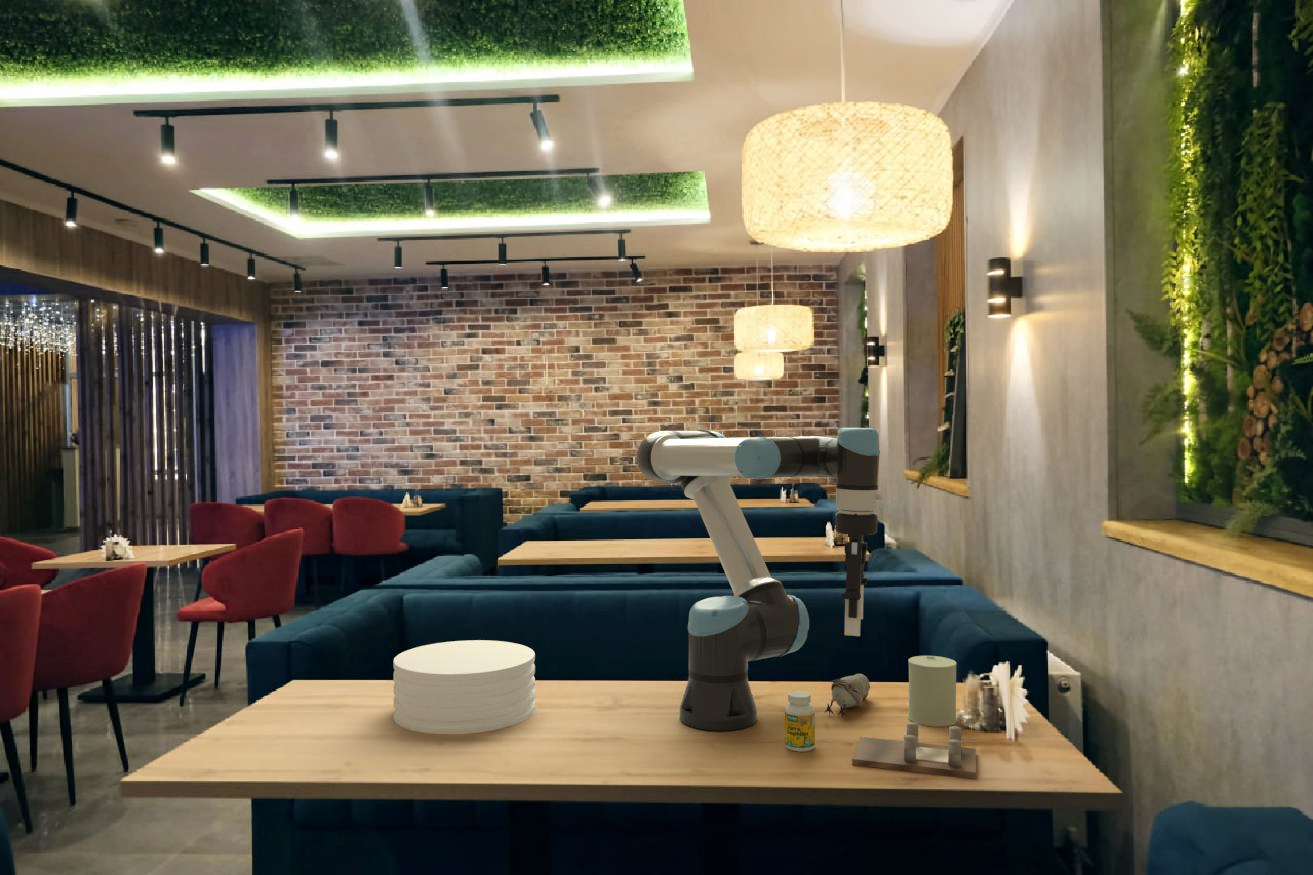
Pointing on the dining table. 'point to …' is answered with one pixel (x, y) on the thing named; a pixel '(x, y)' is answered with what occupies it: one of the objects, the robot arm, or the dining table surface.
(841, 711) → the decorative bird
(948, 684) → the can
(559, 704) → the dining table surface
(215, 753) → the dining table surface
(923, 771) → the pin nest
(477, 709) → the plate stack
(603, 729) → the dining table surface
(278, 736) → the dining table surface
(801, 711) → the supplement bottle
